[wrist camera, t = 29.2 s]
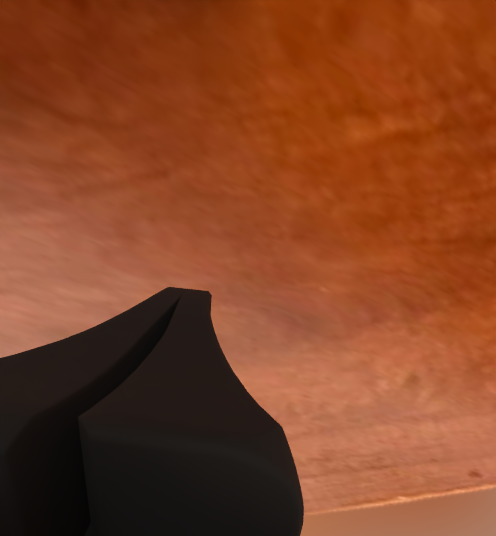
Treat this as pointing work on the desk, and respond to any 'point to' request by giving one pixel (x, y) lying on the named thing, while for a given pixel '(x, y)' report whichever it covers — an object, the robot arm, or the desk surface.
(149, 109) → the desk surface
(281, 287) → the desk surface
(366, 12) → the desk surface
